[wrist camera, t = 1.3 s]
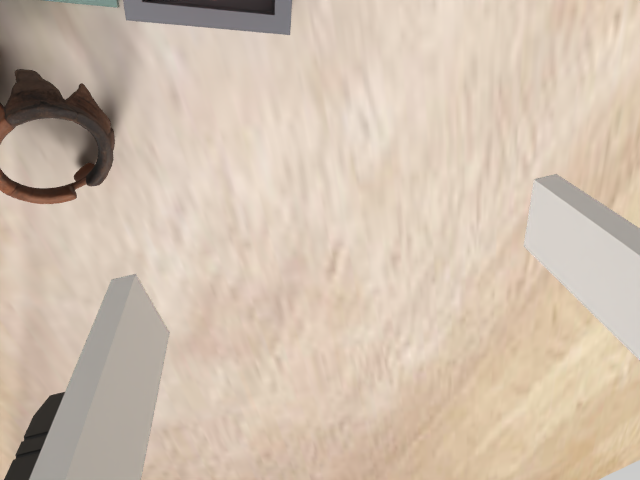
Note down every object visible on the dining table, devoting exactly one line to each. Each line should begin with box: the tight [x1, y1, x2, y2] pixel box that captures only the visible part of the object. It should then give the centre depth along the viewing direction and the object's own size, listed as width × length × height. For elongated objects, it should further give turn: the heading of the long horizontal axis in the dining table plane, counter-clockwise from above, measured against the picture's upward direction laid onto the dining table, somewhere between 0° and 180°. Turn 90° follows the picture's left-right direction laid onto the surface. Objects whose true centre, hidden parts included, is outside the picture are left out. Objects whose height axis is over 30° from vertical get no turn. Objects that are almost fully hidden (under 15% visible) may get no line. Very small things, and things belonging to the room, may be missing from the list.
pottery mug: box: [0, 69, 115, 204], centre depth 27 cm, size 12×10×8 cm
